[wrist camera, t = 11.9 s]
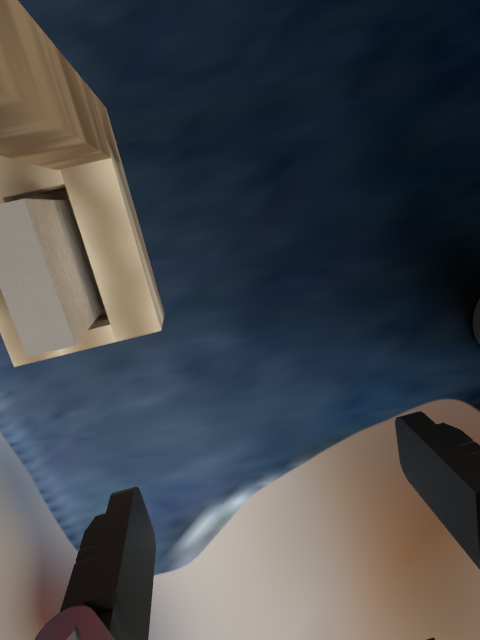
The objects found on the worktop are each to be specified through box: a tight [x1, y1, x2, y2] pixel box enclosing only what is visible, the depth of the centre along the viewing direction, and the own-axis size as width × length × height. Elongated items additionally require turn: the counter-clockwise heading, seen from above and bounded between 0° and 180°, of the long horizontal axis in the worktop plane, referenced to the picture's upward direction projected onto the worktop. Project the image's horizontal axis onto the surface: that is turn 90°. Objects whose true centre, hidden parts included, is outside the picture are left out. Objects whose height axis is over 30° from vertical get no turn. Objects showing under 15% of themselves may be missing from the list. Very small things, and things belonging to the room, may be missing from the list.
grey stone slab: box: [0, 199, 105, 357], centre depth 30 cm, size 3×9×12 cm, turn 12°
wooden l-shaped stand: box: [0, 0, 164, 367], centre depth 23 cm, size 12×18×28 cm, turn 12°
